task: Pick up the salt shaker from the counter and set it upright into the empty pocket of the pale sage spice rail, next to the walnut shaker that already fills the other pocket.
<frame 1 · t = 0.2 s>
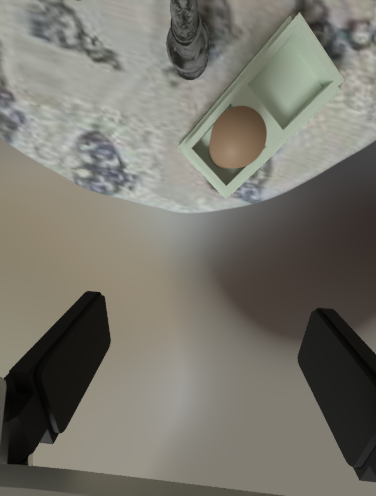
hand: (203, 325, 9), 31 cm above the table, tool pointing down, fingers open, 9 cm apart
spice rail: (251, 122, 32), on the table
salt shaker: (190, 58, 30), on the table
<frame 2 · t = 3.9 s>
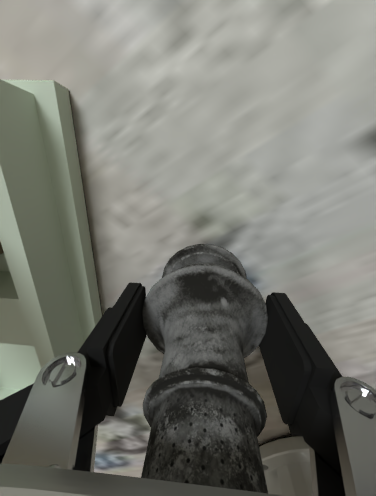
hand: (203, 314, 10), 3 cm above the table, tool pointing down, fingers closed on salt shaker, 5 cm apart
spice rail: (13, 283, 14), on the table
salt shaker: (203, 281, 13), on the table, touching gripper
when the fingers open (5 cm above the table, at t = 9.7 s): salt shaker drops 1 cm, resting on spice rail.
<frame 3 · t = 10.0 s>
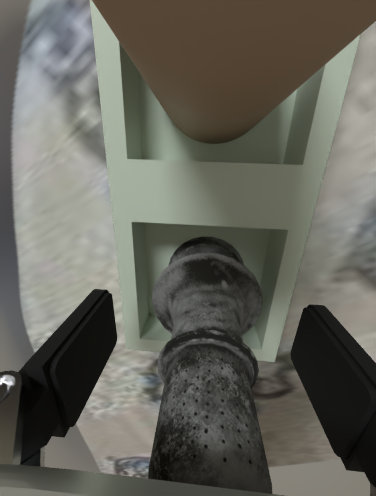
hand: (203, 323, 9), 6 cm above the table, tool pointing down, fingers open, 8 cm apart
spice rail: (208, 189, 13), on the table
salt shaker: (205, 271, 14), point 1 cm above the table, touching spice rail
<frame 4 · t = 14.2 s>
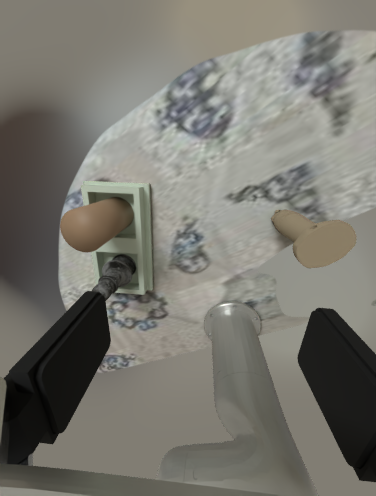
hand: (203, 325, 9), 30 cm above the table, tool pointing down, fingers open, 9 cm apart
handle: (279, 217, 37), on the table
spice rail: (122, 239, 41), on the table
salt shaker: (124, 265, 42), point 1 cm above the table, touching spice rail
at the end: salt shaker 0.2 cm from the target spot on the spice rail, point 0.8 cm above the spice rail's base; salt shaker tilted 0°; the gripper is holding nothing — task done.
